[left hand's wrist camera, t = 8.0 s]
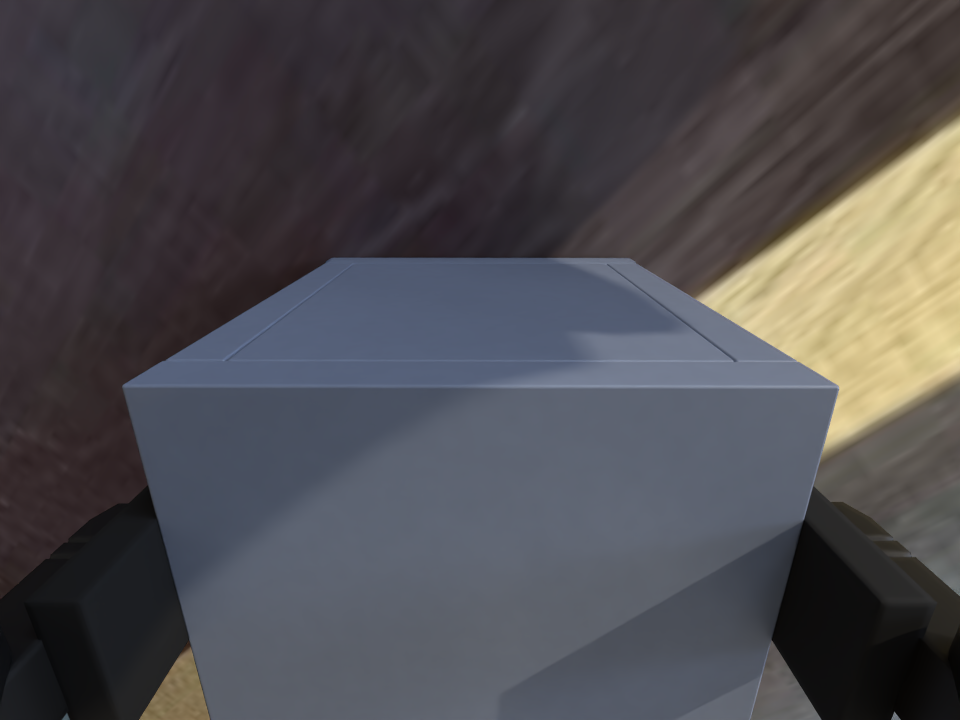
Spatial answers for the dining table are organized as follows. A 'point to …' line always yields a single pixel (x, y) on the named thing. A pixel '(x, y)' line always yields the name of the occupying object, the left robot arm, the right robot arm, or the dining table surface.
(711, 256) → the dining table surface
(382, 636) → the cabinet
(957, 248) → the dining table surface
